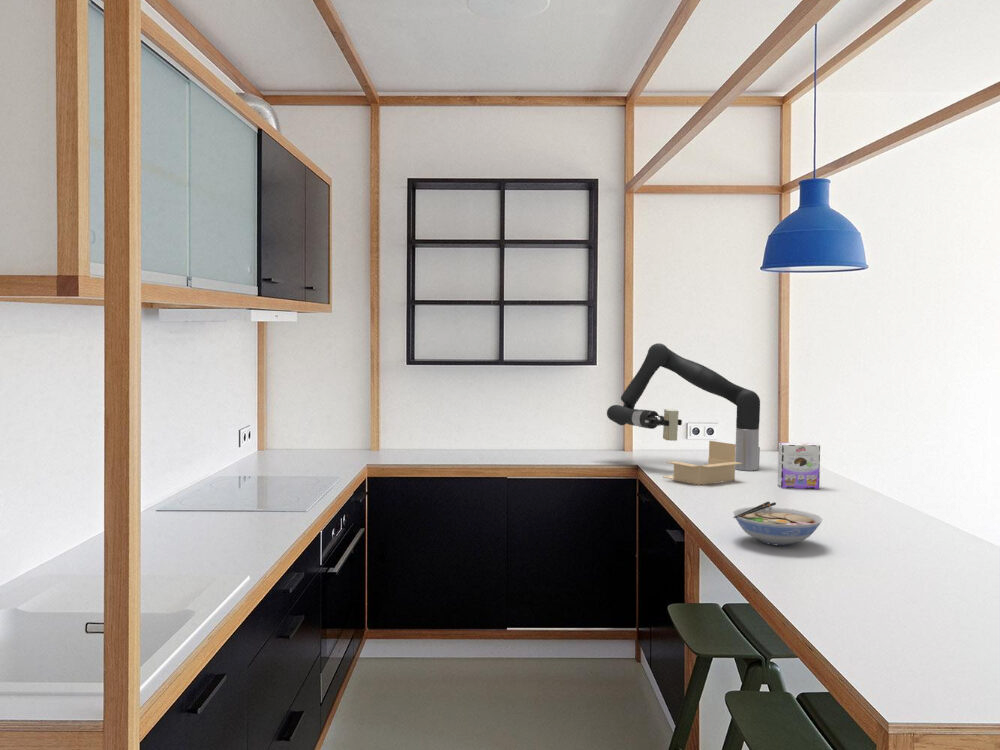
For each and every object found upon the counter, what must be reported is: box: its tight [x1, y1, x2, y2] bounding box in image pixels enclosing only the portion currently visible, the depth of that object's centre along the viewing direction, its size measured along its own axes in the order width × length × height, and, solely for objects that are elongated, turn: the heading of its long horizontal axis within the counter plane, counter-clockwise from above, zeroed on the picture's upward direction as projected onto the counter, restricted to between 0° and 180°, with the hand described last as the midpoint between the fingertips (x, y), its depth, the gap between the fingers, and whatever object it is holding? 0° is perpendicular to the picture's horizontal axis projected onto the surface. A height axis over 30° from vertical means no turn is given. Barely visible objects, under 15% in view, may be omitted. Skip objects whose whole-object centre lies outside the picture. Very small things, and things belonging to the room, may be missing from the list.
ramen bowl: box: [732, 501, 823, 546], centre depth 219 cm, size 25×23×8 cm
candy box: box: [777, 442, 821, 490], centre depth 302 cm, size 14×6×16 cm, turn 84°
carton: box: [662, 440, 742, 486], centre depth 315 cm, size 24×23×14 cm
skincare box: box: [662, 408, 679, 442], centre depth 330 cm, size 6×4×12 cm
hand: (674, 422), depth 328 cm, fingers closed on skincare box, 6 cm apart
